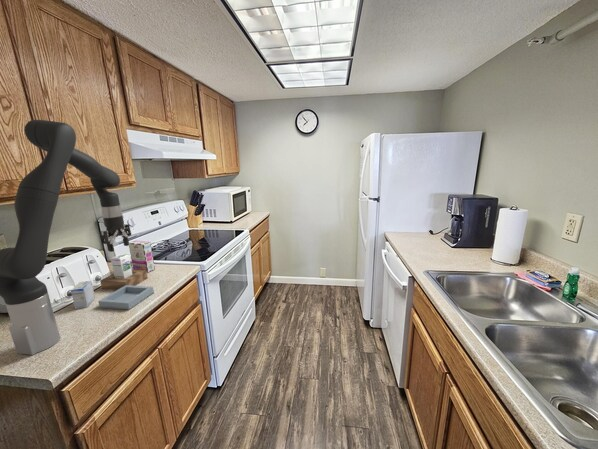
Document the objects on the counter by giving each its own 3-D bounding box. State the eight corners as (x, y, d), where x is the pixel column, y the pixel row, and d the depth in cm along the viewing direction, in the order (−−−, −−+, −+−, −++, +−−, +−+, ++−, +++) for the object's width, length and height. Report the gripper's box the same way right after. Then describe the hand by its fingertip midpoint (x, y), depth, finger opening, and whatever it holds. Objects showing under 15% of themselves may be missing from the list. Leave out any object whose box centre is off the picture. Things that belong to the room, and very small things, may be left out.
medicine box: (83, 300, 110) (78, 282, 108) (95, 298, 112) (91, 280, 110) (75, 309, 103) (70, 290, 101) (88, 307, 105) (83, 288, 103)
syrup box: (126, 286, 122) (120, 258, 119) (115, 285, 123) (110, 257, 120) (135, 281, 128) (130, 254, 124) (125, 280, 129) (120, 253, 125)
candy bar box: (155, 269, 142) (151, 241, 138) (147, 273, 137) (143, 244, 133) (140, 267, 145) (136, 240, 142) (132, 270, 141) (127, 242, 137)
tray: (129, 309, 102) (128, 303, 101) (99, 307, 104) (98, 301, 104) (153, 292, 116) (152, 286, 115) (126, 291, 118) (125, 285, 117)
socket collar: (126, 290, 118) (125, 281, 117) (102, 289, 120) (100, 280, 119) (147, 278, 131) (146, 270, 130) (124, 276, 133) (123, 268, 132)
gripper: (106, 218, 110) (113, 253, 114) (131, 212, 124) (137, 244, 128) (91, 218, 111) (99, 253, 115) (118, 212, 125) (124, 243, 129)
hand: (119, 248), depth 121 cm, fingers open, 8 cm apart
